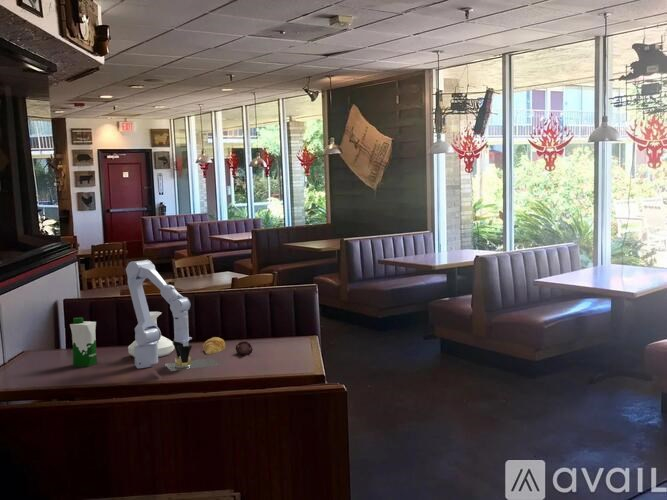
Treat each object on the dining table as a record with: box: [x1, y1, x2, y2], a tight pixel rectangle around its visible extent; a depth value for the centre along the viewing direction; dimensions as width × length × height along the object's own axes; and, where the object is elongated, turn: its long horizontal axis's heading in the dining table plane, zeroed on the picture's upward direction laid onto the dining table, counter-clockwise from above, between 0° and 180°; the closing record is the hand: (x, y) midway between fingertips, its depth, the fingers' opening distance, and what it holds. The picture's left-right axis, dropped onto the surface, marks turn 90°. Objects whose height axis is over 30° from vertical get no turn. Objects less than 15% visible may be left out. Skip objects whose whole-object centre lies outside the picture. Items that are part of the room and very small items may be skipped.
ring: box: [174, 355, 192, 367], centre depth 277 cm, size 6×6×3 cm
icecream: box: [235, 340, 254, 356], centre depth 297 cm, size 7×7×15 cm
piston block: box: [164, 356, 221, 372], centre depth 280 cm, size 20×14×5 cm
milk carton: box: [69, 316, 98, 368], centre depth 289 cm, size 9×9×20 cm
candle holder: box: [127, 311, 175, 358], centre depth 302 cm, size 20×20×19 cm
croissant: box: [202, 336, 226, 355], centre depth 308 cm, size 21×10×8 cm, turn 176°
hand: (182, 360), depth 277 cm, fingers open, 7 cm apart
